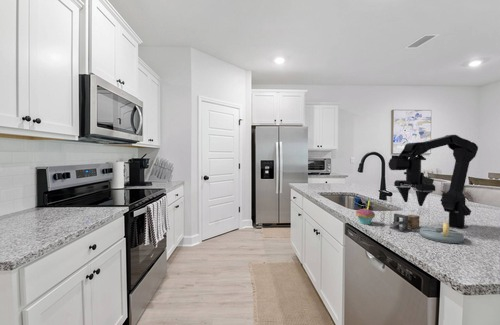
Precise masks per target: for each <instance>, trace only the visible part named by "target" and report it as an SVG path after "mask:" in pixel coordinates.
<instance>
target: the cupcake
mask: <svg viewBox="0 0 500 325" xmlns="http://www.w3.org/2000/svg"><path fill="white" fill-rule="evenodd" d="M370 204H371V199H369V200H368V202H367V208H359V209H357V210H356V211H355V216H356V217H357V218H358V220H359V223H360V224H362V225H366V226H367V225H371V223H372V221H373V219H374V218H375V217H376V213H375V212H374V211H373V210H371V209H369V208H370Z"/></svg>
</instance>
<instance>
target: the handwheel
mask: <svg viewBox="0 0 500 325" xmlns="http://www.w3.org/2000/svg"><path fill="white" fill-rule="evenodd" d="M419 235H420V236H421V237H423V238H426V239H428V240H431V241H436V242H440V243H441V242H442V243H449V244H460V243H464V240H465V234H464V233H461V232H460V231H456V230H453V229H450V226H449V222H443V223H442V227H438V226H423V227H421V228H420V227H419Z"/></svg>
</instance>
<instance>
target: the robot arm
mask: <svg viewBox="0 0 500 325" xmlns="http://www.w3.org/2000/svg"><path fill="white" fill-rule="evenodd" d="M443 146H448V148H449V149H450V150H451V151H452V155H453V157H454V160H455V161H454V166H453V171H452V175H451V176H452V177H451V178H450V179H451V180H450V185H449V189H448V191H447V192H442V194H441V199H440V202H441V203H440V204H441V205H442V207H443V212H447V213H448V223H449V227H452V228H456V229H460V230H461V229H467V228H469V226H468V225H466V224H465V223H466V222H465V219H466V217H467V216H470V215H471V213H472V210H471V209H470V208H469V207H468V206H467V205H466V197H465V195H464V188H465V184H466V179H467V174H468V172H469V171H468V170H469V167H470V162H471V161H473V160H474V158H476V155H477V153H478V150H479V146H478V145H477V144H476V143H475V142H474V141H473V142H472V141H471V140H468V139H466V138H463V137H461V136H460V135H457V134H449V135H448V134H447V135H445V136H441V137H437V138H433V139H430V140H425V141H420V142H419V141H418V142H417V141H416V142H408V143H406V144H405V145H404V147H403V149H402V151H401V152H400V154H399V155H398V154H397V155H396V154H394V155H391V158H390V159H389V160H388V161H389V162H388V168H389V170H391V171H403V175H405V179H397V180H395V181H394V184H393V185H394V187H395V188H396V189H397V190H398V192H399V194H400V196H401V197H402V200H403V201H404V202H403V203H408V201H409V191H410V190H411V189H412V188H415V189H416V190H415V194H416V195H415V196H416V200H417V203H418V206H419V207H423V205H424V203H425V200H426V198H427V196H428V195H429V194H432V193H433V192H436V186H435V184H434V181H435V180H434V179H433V178H431V177H428V176H426V175H425V173H424V172H422V161H426V160H427V158H426V157H424V155H423V154H426V153H427V152H428V151H429V150H430V151H431V150H433V149H436V148H440V147H441V148H442V147H443Z"/></svg>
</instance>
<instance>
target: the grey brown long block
mask: <svg viewBox="0 0 500 325" xmlns="http://www.w3.org/2000/svg"><path fill="white" fill-rule="evenodd" d="M405 215H406V216H408V229H417V228H420V215H416V214H405ZM396 225H399V226H401V225H402V220H399V222H394V221H392V222H390V227H391V226H393V227H394V226H396Z"/></svg>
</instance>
